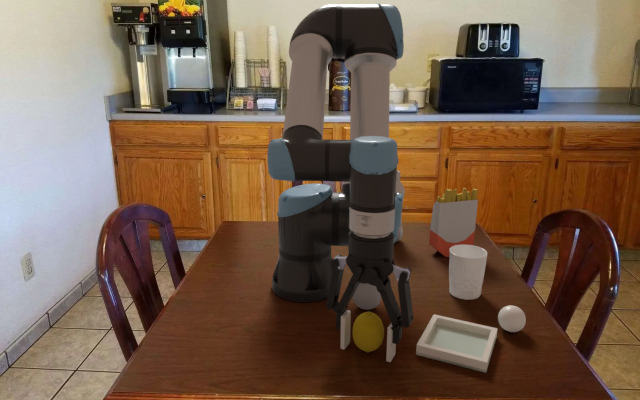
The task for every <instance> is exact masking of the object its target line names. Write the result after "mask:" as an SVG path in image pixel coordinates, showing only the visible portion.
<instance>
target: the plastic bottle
mask: <svg viewBox="0 0 640 400" xmlns="http://www.w3.org/2000/svg"><path fill="white" fill-rule="evenodd" d="M400 179H401V171H399V170H397V177H396V193H400V194H402V196H403V200H402V205H403V204H404V199H405V198H404V197H405V194H406V193H405V192H406V189H405V187H404V185H403V184H402V182H401V181H400ZM402 223H403V222H402V218H401V221H400V226H399V231H398V236H397V239H396V241H395V243H398V242H400V240H401V239H402V238H403V234H404V233H403V231H404V230H403V224H402Z"/></svg>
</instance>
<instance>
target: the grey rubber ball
mask: <svg viewBox="0 0 640 400" xmlns="http://www.w3.org/2000/svg"><path fill="white" fill-rule="evenodd" d="M352 300H353V302H354V304H355V305H356V306H357V307H358V308H359V309H362V310H364V311H365V310H366V311H369V310H373V309H375V308H376V307H378V306H379V304H380V303H381V301H382V298H381V295H380V293H379V292H378V291H377V288H376V286H372V285H370V284H368V283H366V284H363V283H359V285H358V287H357V289H356V291H355V293H354V294H353V296H352Z"/></svg>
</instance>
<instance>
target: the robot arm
mask: <svg viewBox="0 0 640 400" xmlns="http://www.w3.org/2000/svg"><path fill="white" fill-rule="evenodd" d="M403 29H404V28H403V20H402V15H401V13H400V10H399V8H398V7H397V6H396V5H393V4H383V3H375V4H373V3H372V4H335V3H334V4H326V5H322V6H321V7H318V8H316V9H315V10H312V11H311V12H310V13H308V14H307V15H306V16H305V17H304V18H302V20H301V21H300V22H299V24H298V25H297V27H296V28H295V29H294V31H293V33H292V35H291V38H290V41H289V47H288V56H289V58H290V60H291V67H290V74H289V84H288V90H287V98H286V107H285V113H284V121H283V131H282V137H279V138H274V139H271V140H270V141H269V143H268V145H267V146H268V148H267V157H266V158H267V170H268V175H269V176H270V178H271V179H273V180H276V181H277V180H278V181H283V182H338V183H339V182H341V184H342V185H341V186H342V187H341V192H336V191H335V192H333V188H332V186H331V185H329V184H328V183H327V184H326V183H307V184H301V185H297V186H293V187H289V188H288V189H285V190H284V191H282V193H280V195H279V196H278V200H277V201H278V202H277V203H278V204H277V212H276V216H277V219H278V258H277V262H276V264H275V267H274V270H273V275H272V277H271V290H272V292H273V293H274V295H276V296H277V297H280V298H281V299H284V300H287V301H291V302H298V303H310V302H312V303H313V302H319V301H323V300H326V304H325V306H326V309H328V310H333V311H334V312H335V315H336V318H335V323H336V324H335V325H336V330H339V331H340V347H339V349H341V350H344V351H345V349H346V348H347V347H348V346H349V345H350V344H351V323H352V321H351V319H352V318H351V314H352V312H351V311H352V310H351V309H347V308H348V307H349V304H350V302H351V300H352V299H353V294H354V293H355V291H356V289H357V287H358V285H359V283H363V284H366V283H368V284H370V285H372V286H376V288H377V291H378V292H379V293H380V295H381V301H382V303H383V305H384V308H385V310H386V314H387V315H388V318H389V322H390V324H389V325H388V327H387V332H386V334H387V335H386V355H385V356H386V358H385V359H386V360H385V362H388V363H391V362H392V360H393V359H394V358H395V355H396V347H397V345H398V344H399V343H400V342H401V339H402V337H403V336H402V334H403V328H410V326H411V324H412V322H413V321H414V310H413V301H412V294H411V293H412V292H411V287H410V278H411V275H412V274H411V273H412V268H411V267H409V266H406V267H401V266H398V265H396V263H395V261H394V247H395V246H394V245H395V244H396V242H395V241H396V239H397V236H398V231H399V226H400V221H401V219H402V215H403V214H402V212H403V204H402V200H403V201H404V199H403V196H402V194H400V193H396V177H397V171H398V165H399V157H398V143H397V141H396V140H395V139H394V138H390V86H391V85H390V75H391V74H390V73H391V71H392V70H393V69H395V67H397V64H398V62H397V60H399V59H402V57H403V55H404V50H405V49H404V45H405V44H404V30H403ZM332 59H344V66H345V68H346V70H348V71H349V73H350V113H349V114H350V116H349V117H350V118H349V120H350V123H349V125H350V126H349V139H324V124H325V123H324V122H325V108H326V107H325V106H326V91H327V76H328V75H327V74H328V66H329V64H330V63H331V61H332ZM342 182H343V183H342ZM332 246H334V247H348V249H347V250H348V255H347V256H343V255H341V254H337V255H336V256H334V257H332ZM346 267H348V268H349V270H350V272H351V273H352V275H351V278H350V280H349V281H348V284H347V287H346V288H345V290H344V293H343V294H342V297H341V298H340V300H339V297H340V292H341V286H342V283H343V276H344V271H345V268H346ZM391 274H394V275H395V276H394V277H395V281H396V282H397V291H398V298H399V299H398V300H399V305H398V302H397V299H396V296H395V293H394V291H393V289H392V286H391V285H392V283H391V279H390V277H389V276H391Z"/></svg>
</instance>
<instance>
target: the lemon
mask: <svg viewBox="0 0 640 400" xmlns="http://www.w3.org/2000/svg"><path fill="white" fill-rule="evenodd" d="M354 320H355V321H354V322H353V324H352V325H353V326H352V338H353V340H352V341H353V342H354V344H355V345H356V347H357V348H358V349H360V350H361V351H363V352H365V353H367V354H368V353H370V352H374V351H376V350H377V349H379V348H380V346H382V344H383V340H384V337H385V328H384V324H383V321H382V319H381V318H380V316H379V315H377V314H376V313H374V312H372V311H369V310H367V311H364V312H362V313H360V314H358V316H356V319H354Z"/></svg>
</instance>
